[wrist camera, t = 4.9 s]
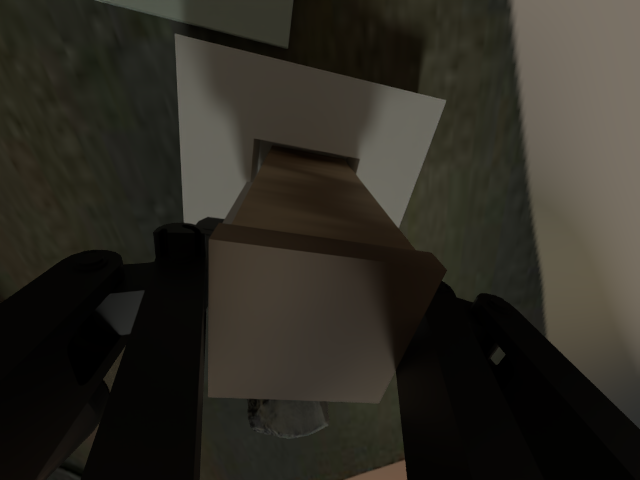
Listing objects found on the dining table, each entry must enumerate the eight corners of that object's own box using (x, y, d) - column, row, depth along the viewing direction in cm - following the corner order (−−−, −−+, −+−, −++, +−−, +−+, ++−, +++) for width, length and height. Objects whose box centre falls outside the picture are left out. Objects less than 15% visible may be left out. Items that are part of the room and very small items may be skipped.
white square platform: (204, 248, 22) (186, 276, 18) (202, 48, 16) (174, 33, 12) (362, 267, 24) (373, 296, 21) (417, 100, 18) (446, 100, 14)
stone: (209, 456, 19) (339, 468, 21) (247, 314, 21) (361, 337, 23) (222, 401, 28) (312, 413, 30) (248, 307, 30) (329, 324, 32)
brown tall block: (261, 215, 20) (208, 397, 8) (269, 141, 17) (208, 239, 5) (330, 225, 21) (378, 403, 9) (347, 156, 18) (446, 269, 6)
